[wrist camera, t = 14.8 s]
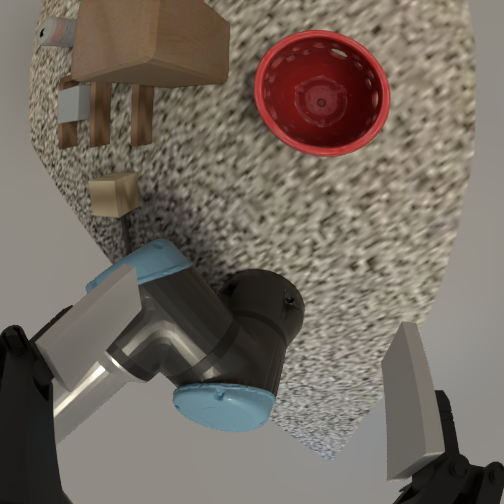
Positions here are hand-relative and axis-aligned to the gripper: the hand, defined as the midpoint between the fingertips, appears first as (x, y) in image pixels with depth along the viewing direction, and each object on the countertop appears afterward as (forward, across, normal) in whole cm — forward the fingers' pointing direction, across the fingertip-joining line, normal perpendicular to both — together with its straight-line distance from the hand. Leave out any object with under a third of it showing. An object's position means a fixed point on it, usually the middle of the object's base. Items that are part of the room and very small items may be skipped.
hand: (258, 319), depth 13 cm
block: (+29, +39, -12) cm, 50 cm away
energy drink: (+29, +40, -26) cm, 56 cm away
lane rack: (+29, +34, -11) cm, 46 cm away
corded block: (+29, +30, +11) cm, 43 cm away
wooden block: (+29, +17, -18) cm, 38 cm away
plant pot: (+29, -1, -12) cm, 31 cm away
